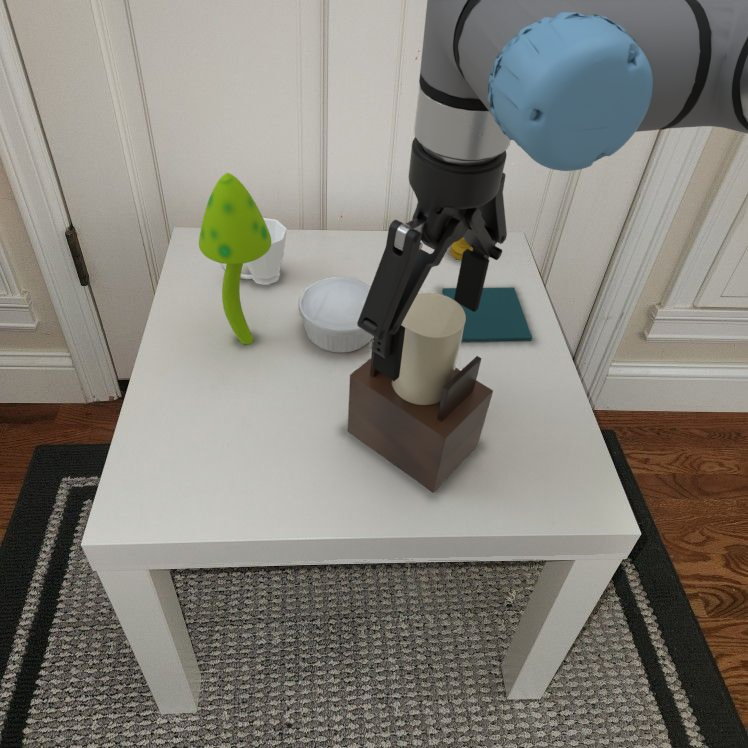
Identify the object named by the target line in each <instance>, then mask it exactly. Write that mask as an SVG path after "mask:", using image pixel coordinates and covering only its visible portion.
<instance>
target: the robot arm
mask: <svg viewBox="0 0 748 748" xmlns="http://www.w3.org/2000/svg"><path fill="white" fill-rule="evenodd" d="M425 10H426V11H425V19H424V20H425V21H424V30H423V38H422V39H423V40H422V49H421V50H422V51H421V60H420V69H419V72H420V73H419V78H418V83H419V86H418V94H417V104H416V110H415V119H414V120H415V121H414V126H413V128H414V129H413V132H414V138H413V140H412V143H411V150H410V159H409V169H408V184H409V186H410V187H411V189H412V191H413V193H414V195H415V198H416V200H417V204H416V207H415V209H414V212H413V215H412V218H411V220H409V221H408V222H406V223H403V222H402V221H400V220H398V219H393V220H392V221H391V223H390V224H389V226H388V231H387V237H386V244H385V247H384V251H383V253H382V256H381V259H380V261H379V264H378V266H377V269H376V272H375V275H374V277H373V280H372V283H371V285H370V286H371V288H370V290H369V293H368V296H367V298H366V301H365V304H364V306H363V309H362V312H361V314H360V317H359V320H358V323H357V326H358V327H360V328H361V329H363V330H365V331H366V332H368V333H369V334H371V335H373V337H372V342H373V351H374V358H373V368H375V369H376V370H378V371H379V372H381V373H382V374H384V375H385V376H387V377H388V378H390V379H391V380H393V381H395V380H396V379H398V378H399V375H400V367H401V359H402V351H403V344H404V336H405V327H403V326H402V325H401V324H402V322H403V320H404V318H405V317H406V315H407V313H408V311H409V309H410V307H411V305H412V303H413V302H414V300H415V298H416V296H417V294H419V292H420V290H421V288H422V286H423V285H424V283H425V281H426V279H427V277H428V276H429V273H430V271H431V269H432V268H433V267H438V266H439V265H440V264H441V262H442V261H443V259H444V257H445V255H446V253H447V251H448V249H449V248H451V245H452V244H453V243H454V242H457V241H459V240H460V239H462V238H464V239H465V241H466V242H467V243H468V245H469V246H470V247H472V248H473V250H472V251H471V250H469V249H466V250H465V251H464V252H463V256H462V260H460V267H459V270H458V277H457V282H456V287H455V288H456V292H455V297H454V300H455V301H456V302H457V303H459V304H461V305H462V306H464V307H466V308H468V309H469V310H471V311H473V312H475V311H476V310H477V309H478V308H479V303H480V299H481V295H482V290H483V288H484V286H485V281H486V277H487V273H488V268H489V265H490V264H489V263H490V259H492V260H495V261H498V260H499V259H500V258H501V256H502V254H503V249H502V248H500V247H498V246H496V245H497V244H500V245H502V244H504V242H505V241H506V240H507V235H508V231H507V222H506V213H505V212H506V211H505V200H504V199H505V198H504V189H505V188H504V187H505V181H506V173H504V169H505V165H506V160H507V150H508V148H509V146H510V145H511V142H512V141H513V142H515V144H516V145H517V146H518V147H520V148H521V149H522V150H523V151H524V152H525V153H526V154H527V155H528V156H529V157H530V159H532V160H533V161H534V162H535V163H537V164H539V165H540V166H543V167H545V168H547V169H550V170H553V171H560V172H571V171H572V172H574V171H580V170H583V169H586V168H589V167H592V166H593V164H594V163H595V162H597V161H599V160H601V159H603V158H604V157H610V156H612V155H614V154H616V153H617V152H618V151H619V150H621V149H622V148H623V147H624V146H625V145H626V144H627V142H629V141H630V139H631V138H632V137H633V136H634V134H635V133H638V132H649V131H651V132H652V131H659V130H660V131H664V130H667V129H681V128H682V129H684V128H697V127H699V128H700V127H715V128H722V129H727V130H732V131H735V132H739V133H744V134H748V0H426V9H425ZM423 245H425V246H426V247H428V248H430V249H433V252H431V253H429V252H427V251H425V250H423V249H422V248H423Z"/></svg>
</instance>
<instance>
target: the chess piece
mask: <svg viewBox="0 0 748 748" xmlns="http://www.w3.org/2000/svg"><path fill="white" fill-rule="evenodd" d="M466 249H469V250H471V251H472V250H473V248H472V247H470V246H469V245H468V243H467V242H466V241H465V239H464V238H462V239H460V240H459V241H457V242H454V243H453V244H452V245H451V246H450V251H449V252H450V255H451V257H453V258H454V259H456V260H458V261H462V256H463V252H464V251H465V250H466Z"/></svg>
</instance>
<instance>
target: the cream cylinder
mask: <svg viewBox="0 0 748 748" xmlns="http://www.w3.org/2000/svg"><path fill="white" fill-rule="evenodd" d="M465 321H466V315H465V312H464V310H463V308H462V307H461V306H460V305H459V304H458V303H457V302H456V301H455V300H453V299H451V298H449V297H447V296H445V295H443V294H442V293H436V292H421V293H418V294H417V296H416V298H415V300H414V302H413V303H412V305H411V307H410V309H409V311H408V313H407V315H406V317H405V318H404V320H403V322H402V324H401V325H402V326H403V327H405V336H404V344H403V351H402V359H401V367H400V375H399V378H398V379H396V380H395V381H393V380H392V386H393V389H394V390H395V392H396V393H397V394H398V395H399V396H400V397H401V398H402V399H404V400H406V401H408V402H410V403H413V404H417V405H432V404H436V403H438V402H440V401H441V397H442V392H443V387H444V386H445V385H446V384H447V383H448V382H449V381H450V380H451V379H453V378H454V373H455V368H457V364H458V359H459V354H460V349H461V345H462V342H461V340H462V335H463V331H464V326H465Z"/></svg>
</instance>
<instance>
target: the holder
mask: <svg viewBox="0 0 748 748" xmlns="http://www.w3.org/2000/svg"><path fill="white" fill-rule="evenodd" d="M370 355H371V356H370V358H369V359H368V360H366V361H365V362H364V363H363V364H362V365H360V366H359V367H358V368H357V369H355V370H354V371H352V372H351V373H350V374H349V386H348V387H349V390H348V409H347V410H348V411H347V413H348V414H347V432H348V433H349V434H351V435H352V436H353V437H355V438H356V439H358V440H359V441H360V442H362V443H363V444H365V445H366V446H367V447H369V448H370V449H372V450H373V451H374V452H375V453H377V454H379V455H380V456H381V457H383V458H384V459H386V460H387V461H388V462H390V463H391V464H392V465H394V466H395V467H397V468H398V469H400V470H401V471H402V472H404V474H406V475H408V476H409V477H410V478H412V479H413V480H415V481H416V482H417V483H419V484H420V485H422V486H423V487H424V488H426V489H428V490H429V491H430V492H431V493H435V492H436V491H437V490H438V489H439V488H440V486H441V485H443V483H444V482H445V481H446V480H448V478H449V477H450V476H451V475H452V474H453V473H454V472H455V470H457V468H458V467H459V466H460V465H461V464H463V462H464V461H465V460H466V459H468V457H469V456H470V455H471V454H472V452H474V450H475V449H476V448H477V447H478V446H479V442H480V439H481V435H482V432H483V428H484V425H485V421H486V417H487V415H488V412H489V407H490V404H491V400H492V397H493V393H494V390H493V389H492V388H490V387H488V385H485V384H483V383H482V382H480V381H478V380H477V378H478V375H479V370H480V366H481V363H482V359H483V358H482V357H480V356H479V355H476V356H475V357H474V358H473V359H472V360H471V361H470V362H468V363H467V364H466V365H465V366H464V367H463V368H462V369H459V368H457V367H456V368H455V373H454V378H453V379H451V380H450V381H449V382H448V383H447V384H446V385H445V386H444V387H443V392H442V397H441V401H440V402H438V403H436V404H432V405H417V404H413V403H410V402H408V401H406V400H404V399H402V398H401V397H400V396H399V395H398V394H397V393H396V392H395V390H394V389H393V386H392V380H391V379H390V378H388V377H387V376H385V375H384V374H382V373H381V372H379V371H378V370H376V369H375V368H373V358H374V351H373V341H372V342H371V354H370Z"/></svg>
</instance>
